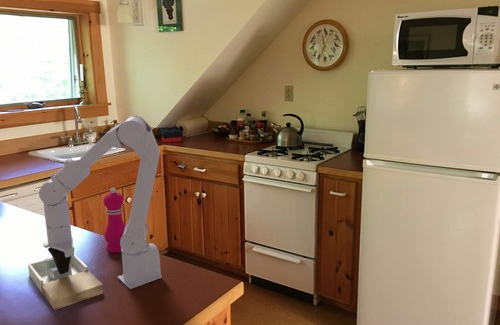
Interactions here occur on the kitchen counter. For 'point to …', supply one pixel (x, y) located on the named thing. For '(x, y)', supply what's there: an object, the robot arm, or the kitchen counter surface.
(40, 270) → the box
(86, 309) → the kitchen counter surface
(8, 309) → the kitchen counter surface
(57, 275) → the tile
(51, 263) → the tile
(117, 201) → the pepper mill
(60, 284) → the oak plate
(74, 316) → the kitchen counter surface
